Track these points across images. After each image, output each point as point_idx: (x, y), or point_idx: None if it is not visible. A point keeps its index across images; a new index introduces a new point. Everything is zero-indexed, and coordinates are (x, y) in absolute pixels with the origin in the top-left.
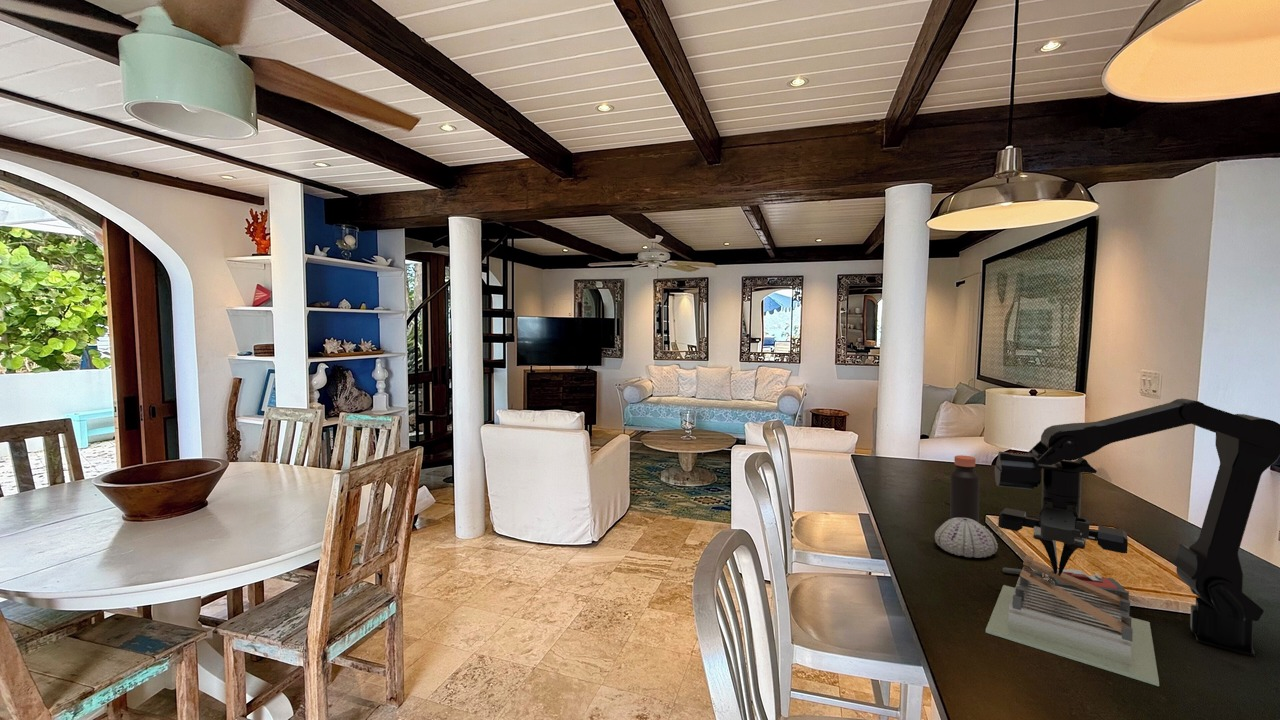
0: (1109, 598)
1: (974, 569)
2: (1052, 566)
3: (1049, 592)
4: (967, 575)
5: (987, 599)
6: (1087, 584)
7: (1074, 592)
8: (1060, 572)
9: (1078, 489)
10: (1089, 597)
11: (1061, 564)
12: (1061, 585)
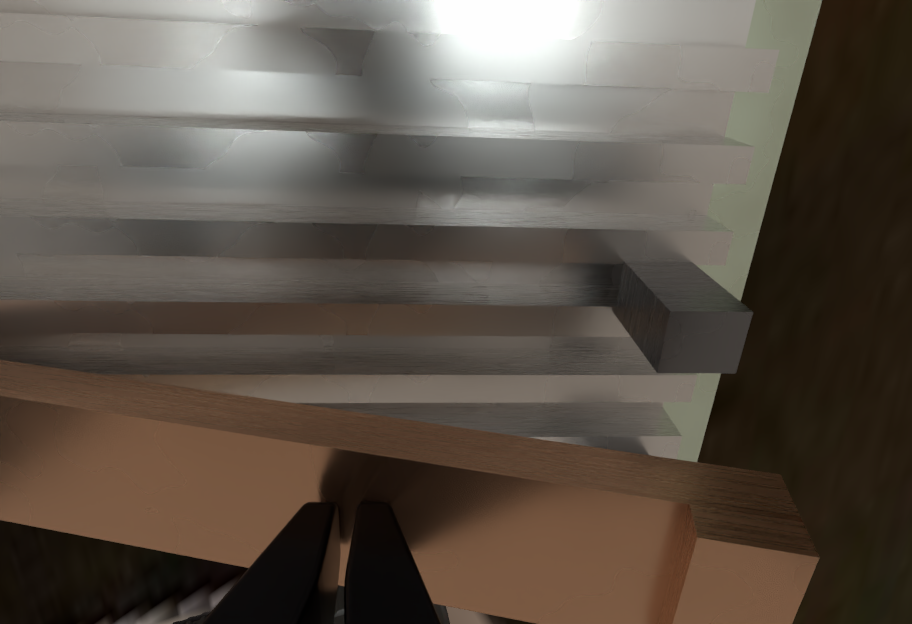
0: None
1: (816, 595)
2: (409, 559)
3: (430, 299)
4: (875, 498)
5: (816, 205)
6: (60, 494)
7: None
8: (310, 510)
9: None
10: None
11: (264, 618)
12: None
